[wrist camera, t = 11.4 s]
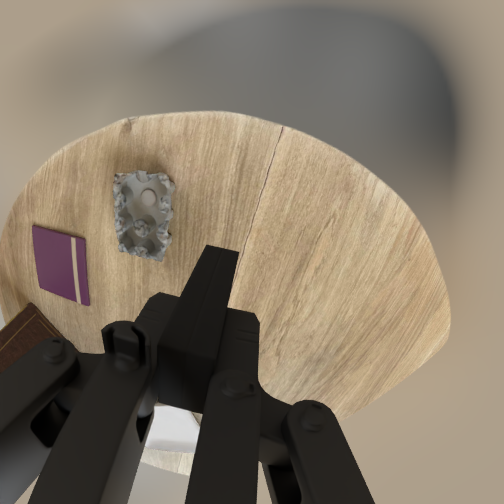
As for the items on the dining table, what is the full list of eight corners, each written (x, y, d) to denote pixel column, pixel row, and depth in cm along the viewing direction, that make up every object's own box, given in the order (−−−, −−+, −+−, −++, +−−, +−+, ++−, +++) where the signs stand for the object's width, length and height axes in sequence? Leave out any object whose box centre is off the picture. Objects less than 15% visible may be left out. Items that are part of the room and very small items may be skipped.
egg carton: (128, 166, 31) (112, 169, 28) (182, 174, 32) (171, 178, 28) (122, 243, 35) (108, 254, 32) (172, 254, 36) (162, 267, 32)
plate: (106, 392, 49) (100, 403, 46) (188, 393, 47) (185, 407, 44) (149, 440, 57) (146, 449, 54) (223, 443, 54) (221, 454, 51)
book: (22, 315, 43) (-41, 385, 20) (31, 297, 41) (-44, 374, 18) (91, 383, 49) (47, 468, 26) (107, 373, 47) (58, 469, 24)
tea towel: (33, 224, 35) (31, 226, 34) (85, 238, 35) (83, 240, 35) (41, 286, 39) (39, 287, 39) (90, 304, 40) (88, 306, 39)
